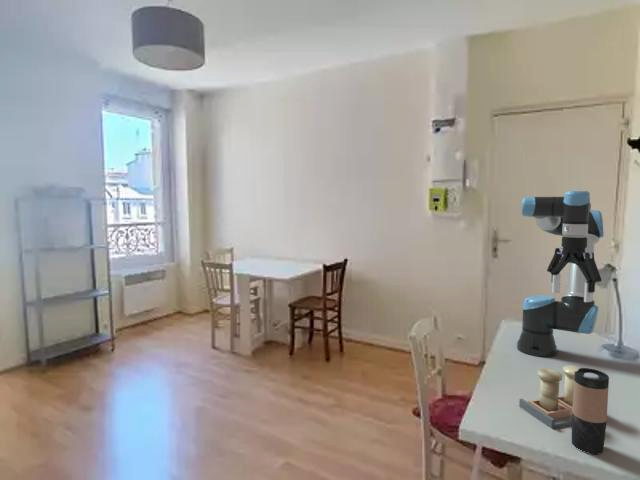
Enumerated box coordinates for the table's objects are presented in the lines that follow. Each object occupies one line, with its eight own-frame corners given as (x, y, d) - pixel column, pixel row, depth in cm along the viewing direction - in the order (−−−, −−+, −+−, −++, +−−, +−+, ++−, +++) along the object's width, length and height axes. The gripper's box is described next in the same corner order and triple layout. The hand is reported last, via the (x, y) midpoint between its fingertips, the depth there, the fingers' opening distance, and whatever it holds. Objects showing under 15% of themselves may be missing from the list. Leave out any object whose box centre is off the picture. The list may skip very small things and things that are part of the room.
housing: (519, 406, 132) (520, 366, 131) (568, 398, 137) (571, 360, 135) (551, 428, 120) (553, 384, 118) (604, 419, 124) (607, 376, 123)
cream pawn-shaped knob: (548, 404, 131) (550, 367, 130) (565, 414, 125) (567, 376, 123) (531, 407, 129) (533, 370, 128) (548, 418, 123) (549, 379, 122)
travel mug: (610, 456, 107) (615, 381, 104) (577, 453, 108) (582, 379, 106) (596, 439, 114) (600, 368, 112) (565, 436, 115) (569, 366, 113)
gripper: (538, 233, 155) (535, 289, 157) (598, 240, 131) (594, 306, 133) (555, 232, 157) (552, 288, 159) (617, 239, 133) (612, 305, 135)
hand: (571, 297), depth 146 cm, fingers open, 13 cm apart
